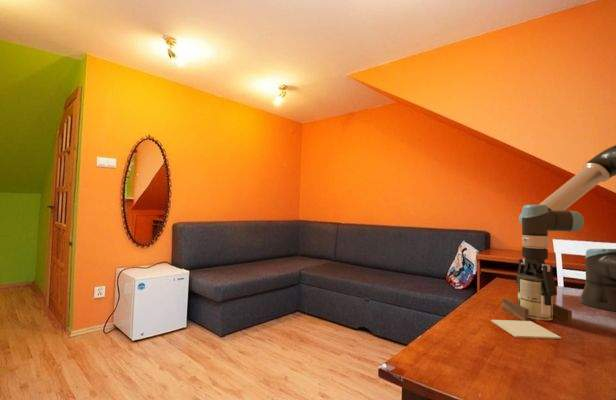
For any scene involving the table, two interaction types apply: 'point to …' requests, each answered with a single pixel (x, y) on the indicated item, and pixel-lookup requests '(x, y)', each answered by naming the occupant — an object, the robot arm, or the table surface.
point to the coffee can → (532, 296)
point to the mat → (525, 329)
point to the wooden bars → (524, 313)
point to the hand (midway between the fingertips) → (534, 309)
